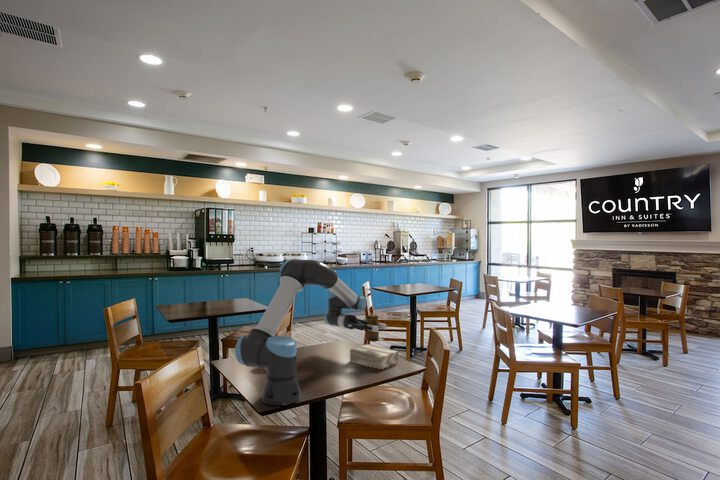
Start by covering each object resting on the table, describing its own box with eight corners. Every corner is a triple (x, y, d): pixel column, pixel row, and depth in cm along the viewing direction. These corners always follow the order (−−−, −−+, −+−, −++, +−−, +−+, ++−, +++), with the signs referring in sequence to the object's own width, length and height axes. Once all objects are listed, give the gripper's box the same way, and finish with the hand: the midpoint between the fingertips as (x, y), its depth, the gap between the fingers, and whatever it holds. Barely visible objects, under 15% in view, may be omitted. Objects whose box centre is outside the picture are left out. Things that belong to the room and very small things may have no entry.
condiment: (373, 336, 201) (373, 313, 201) (384, 339, 195) (384, 316, 195) (362, 338, 197) (362, 315, 197) (373, 342, 190) (373, 318, 190)
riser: (381, 370, 184) (381, 357, 184) (350, 361, 197) (350, 349, 197) (398, 363, 195) (398, 351, 195) (367, 355, 208) (367, 344, 208)
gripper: (359, 325, 215) (393, 332, 200) (335, 331, 201) (369, 339, 185) (359, 312, 215) (393, 317, 200) (335, 317, 201) (369, 323, 185)
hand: (381, 328), depth 193 cm, fingers closed on condiment, 6 cm apart
